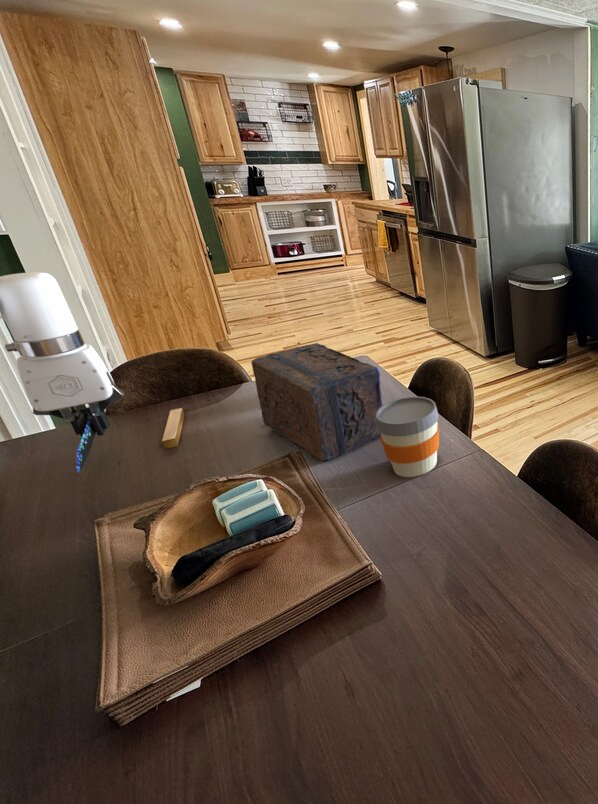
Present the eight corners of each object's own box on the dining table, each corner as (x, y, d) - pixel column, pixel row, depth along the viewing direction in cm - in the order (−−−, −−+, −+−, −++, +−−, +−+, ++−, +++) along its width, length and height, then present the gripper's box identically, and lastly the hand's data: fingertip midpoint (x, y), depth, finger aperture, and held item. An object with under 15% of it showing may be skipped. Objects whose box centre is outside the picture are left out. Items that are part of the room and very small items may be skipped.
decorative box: (328, 405, 135) (250, 430, 118) (321, 337, 129) (238, 354, 112) (400, 436, 121) (323, 470, 104) (396, 362, 115) (314, 385, 98)
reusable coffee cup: (396, 493, 98) (384, 431, 93) (378, 465, 107) (366, 407, 102) (454, 470, 106) (446, 411, 100) (432, 445, 115) (424, 390, 109)
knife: (103, 399, 101) (93, 381, 99) (122, 395, 102) (113, 378, 100) (62, 489, 79) (49, 469, 76) (87, 483, 80) (75, 462, 78)
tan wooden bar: (164, 449, 112) (161, 441, 111) (173, 417, 126) (170, 410, 125) (177, 445, 114) (174, 438, 113) (184, 414, 127) (182, 407, 126)
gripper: (-25, 361, 76) (28, 457, 83) (109, 341, 84) (146, 430, 91) (-7, 347, 81) (41, 438, 88) (117, 329, 90) (152, 414, 97)
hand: (94, 433), depth 90 cm, fingers closed on knife, 1 cm apart
